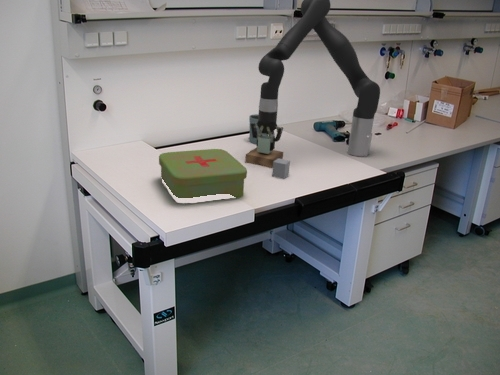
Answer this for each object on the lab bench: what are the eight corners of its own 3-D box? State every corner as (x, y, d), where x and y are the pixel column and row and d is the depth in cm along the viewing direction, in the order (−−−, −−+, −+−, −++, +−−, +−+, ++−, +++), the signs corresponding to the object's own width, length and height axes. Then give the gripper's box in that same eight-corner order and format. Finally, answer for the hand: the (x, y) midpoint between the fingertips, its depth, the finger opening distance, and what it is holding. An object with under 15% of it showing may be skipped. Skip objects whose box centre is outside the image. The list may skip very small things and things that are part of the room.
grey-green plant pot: (244, 142, 228) (246, 117, 223) (252, 137, 237) (254, 112, 232) (265, 146, 225) (267, 120, 220) (272, 140, 233) (274, 116, 229)
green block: (272, 150, 205) (273, 137, 203) (268, 154, 201) (269, 140, 199) (261, 148, 207) (262, 135, 205) (257, 151, 203) (258, 137, 200)
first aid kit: (175, 207, 159) (175, 178, 156) (156, 178, 181) (156, 152, 177) (249, 198, 170) (251, 171, 166) (222, 172, 191) (223, 147, 188)
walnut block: (282, 160, 209) (283, 151, 207) (272, 169, 198) (272, 159, 197) (256, 155, 213) (257, 146, 211) (245, 163, 203) (245, 154, 201)
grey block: (288, 175, 192) (290, 160, 190) (284, 179, 188) (285, 164, 186) (276, 172, 194) (278, 158, 192) (272, 176, 190) (273, 161, 188)
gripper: (288, 109, 198) (284, 150, 204) (255, 104, 203) (253, 143, 209) (281, 113, 191) (277, 154, 198) (248, 108, 196) (245, 148, 203)
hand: (265, 149), depth 204 cm, fingers closed on green block, 5 cm apart
